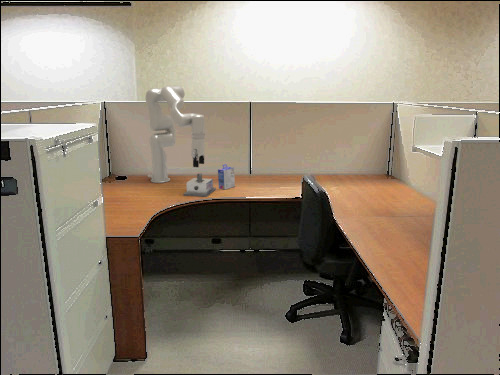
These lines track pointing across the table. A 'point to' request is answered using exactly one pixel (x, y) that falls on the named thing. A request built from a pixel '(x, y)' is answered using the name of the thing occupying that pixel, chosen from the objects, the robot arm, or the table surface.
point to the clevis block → (199, 187)
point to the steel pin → (199, 177)
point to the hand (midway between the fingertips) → (198, 165)
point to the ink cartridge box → (226, 177)
